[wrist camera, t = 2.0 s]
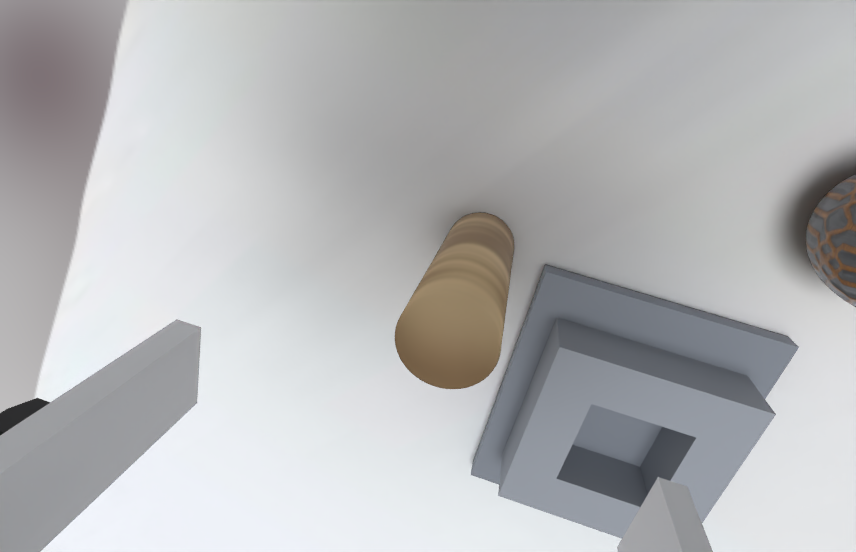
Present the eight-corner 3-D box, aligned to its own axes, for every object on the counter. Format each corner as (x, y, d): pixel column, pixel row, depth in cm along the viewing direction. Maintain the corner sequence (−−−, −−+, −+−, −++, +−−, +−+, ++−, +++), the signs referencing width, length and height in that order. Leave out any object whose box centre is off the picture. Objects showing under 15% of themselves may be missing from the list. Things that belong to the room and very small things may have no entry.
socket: (545, 264, 29) (547, 296, 24) (788, 336, 27) (835, 383, 23) (472, 462, 35) (464, 515, 31) (666, 528, 34) (685, 593, 29)
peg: (456, 204, 28) (407, 280, 17) (522, 223, 28) (515, 313, 17) (440, 265, 30) (385, 370, 19) (502, 284, 30) (483, 402, 19)
